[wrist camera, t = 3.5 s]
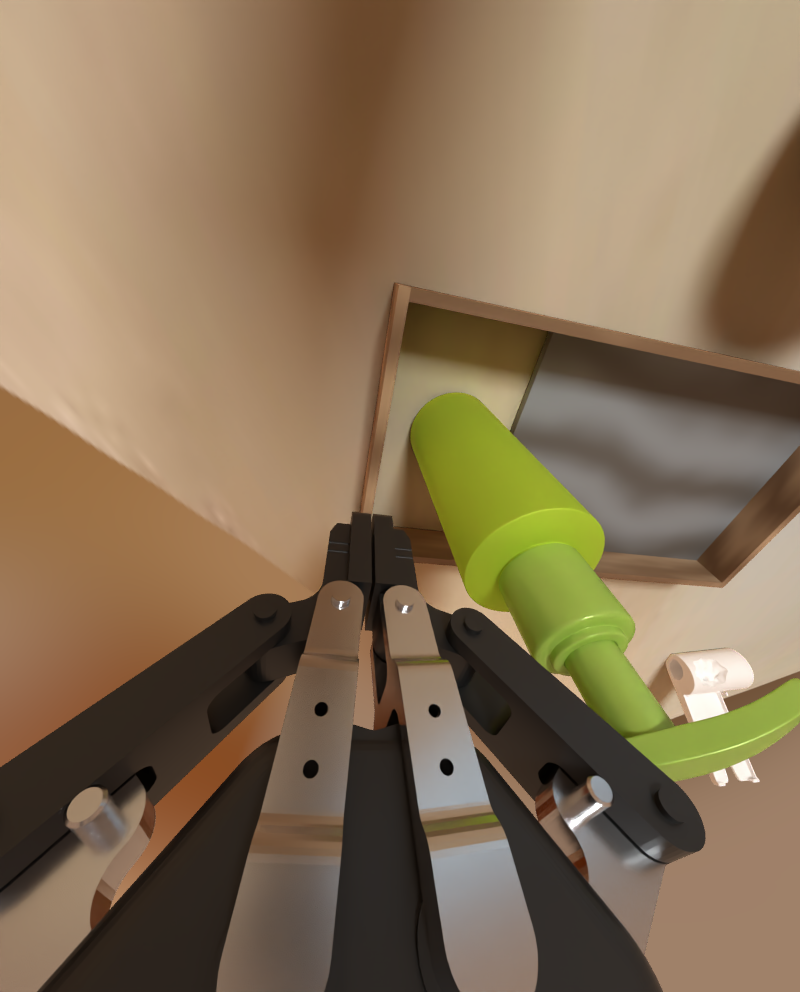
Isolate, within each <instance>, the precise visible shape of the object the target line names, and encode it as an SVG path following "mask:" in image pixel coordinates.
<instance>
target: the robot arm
mask: <svg viewBox="0 0 800 992" xmlns="http://www.w3.org/2000/svg"><path fill="white" fill-rule="evenodd" d="M411 550H412V548H411V542H410V538H409V537H408V536H407V534H406V533H405V531H404V530H398V529H393V521H392V516H387V515H379V514H373V517H372V521H371V514H369V513H360V512H352V517H351V523H350V524H341V523H337V524H336V525H335V526H334V528H333V529H332V530H331V531H330V538H329V545H328V552H327V558H326V565H325V572H324V579H323V584H322V586H321V588H320V590H319V591H318V592H317V593H316V594H314V595H313V596H311V597H310V598H308V599H305V600H301V601H297V602H292V603H289V602H288V601H287V600H286V599H285V598H283V597H282V596H279V595H276V594H261V595H258V596H255V597H253V598H251V599H250V600H248V601H247V602H245V603H243V604H242V605H240V606H239V607H237V608H236V609H234V610H233V611H232V612H230V613H229V614H227V615H226V616H224V617H223V618H222V619H220V620H218V621H217V622H215V623H214V624H212V625H211V626H209V627H208V628H206V629H205V630H203V631H202V632H201V633H199V634H198V635H196V636H194V637H193V638H191V639H190V640H189V641H187V642H186V643H184V644H183V645H181V646H180V647H178V648H177V649H175V650H174V651H172V652H171V653H169V654H168V655H166V656H165V657H163V658H162V659H160V660H159V661H157V662H156V663H154V664H153V665H151V666H150V667H149V668H147V669H145V670H144V671H143V672H141V673H140V674H138V675H137V676H135V677H134V678H132V679H131V680H129V681H128V682H126V683H125V684H123V685H122V686H120V687H119V688H117V689H116V690H115V691H113V692H111V693H110V694H108V695H107V696H105V697H104V698H102V699H101V700H100V701H98V702H97V703H95V704H94V705H92V706H91V707H89V708H88V709H86V710H85V711H83V712H82V713H80V714H79V715H78V716H76V717H74V718H73V719H72V720H70V721H68V722H67V723H66V724H64V725H63V726H61V727H59V728H58V729H57V730H55V731H54V732H52V733H51V734H49V735H48V736H46V737H45V738H43V739H42V740H40V741H39V742H37V743H36V744H34V745H33V746H31V747H30V748H28V749H27V750H25V751H24V752H22V753H21V754H19V755H18V756H17V757H15V758H13V759H12V760H11V761H9V762H8V763H6V764H5V765H3V766H2V767H0V992H663V991H662V988H661V986H660V984H659V982H658V980H657V978H656V975H655V974H654V972H653V970H652V968H651V966H650V965H649V963H648V961H647V959H646V957H645V956H644V954H645V950H646V945H647V941H648V937H649V933H650V928H651V924H652V920H653V916H654V911H655V907H656V903H657V898H658V894H659V890H660V886H661V881H662V877H663V873H664V869H665V866H666V865H667V864H669V863H671V862H673V861H676V860H678V859H680V858H683V857H685V856H688V855H690V854H693V853H695V852H697V851H699V850H701V849H702V848H703V846H704V844H705V830H704V826H703V823H702V820H701V817H700V815H699V813H698V811H697V809H696V808H695V806H694V804H693V803H692V801H691V800H690V799H689V797H688V796H687V795H686V793H684V791H683V790H682V789H681V788H680V787H679V786H678V785H677V784H676V783H675V782H674V781H673V780H672V779H670V778H669V777H668V776H667V775H666V774H665V773H664V772H662V771H661V770H660V769H659V768H658V767H657V766H656V765H655V764H653V763H652V762H651V761H650V760H649V759H648V758H647V757H645V756H644V755H643V754H642V753H641V752H640V751H639V750H637V749H636V748H635V747H634V746H633V745H632V744H631V743H629V742H628V741H627V740H626V739H625V738H624V737H623V736H621V735H620V734H619V733H618V732H617V731H616V730H615V729H614V728H612V727H611V726H610V725H609V724H608V723H607V722H606V721H604V720H603V719H602V718H601V717H600V716H599V715H598V714H596V713H595V712H594V711H593V710H592V709H591V708H590V707H588V706H587V705H586V704H585V703H584V702H583V701H582V700H581V699H579V698H578V697H577V696H576V695H575V694H574V693H573V692H571V691H570V690H569V689H568V688H567V687H566V686H565V685H563V684H562V683H561V682H560V681H559V680H558V679H557V678H555V677H554V676H553V675H552V674H551V673H550V672H549V671H547V670H546V669H545V668H544V667H543V666H542V665H541V664H540V663H538V662H537V661H536V660H535V659H534V658H533V657H532V656H530V655H529V654H528V653H527V652H526V651H525V650H524V649H522V648H521V647H520V646H519V645H518V644H517V643H516V642H514V641H513V640H512V639H511V638H510V637H509V636H508V635H506V634H505V633H504V632H503V631H502V630H501V629H500V628H499V627H497V626H496V625H495V624H494V623H493V622H492V621H491V620H489V619H488V618H487V617H486V616H485V615H484V614H482V613H481V612H479V611H477V610H474V609H471V608H461V609H458V610H456V611H455V612H454V613H453V614H449V613H446V612H443V611H440V610H438V609H435V608H433V607H432V606H430V605H429V604H427V603H426V601H425V599H424V597H423V596H422V594H421V593H420V592H419V591H418V587H417V580H416V574H415V567H414V561H413V555H412V551H411ZM364 617H365V630H369V631H372V632H373V641H372V645H371V650H370V657H371V670H372V681H373V682H372V683H373V695H374V709H375V715H374V729H373V730H369V729H366V728H363V727H359V726H356V725H353V717H354V707H355V697H356V687H357V686H356V685H357V677H358V666H359V659H358V651H359V640H360V631H361V630H362V626H363V621H364ZM292 674H296V677H295V680H294V684H293V688H292V692H291V696H290V700H289V704H288V708H287V712H286V716H285V719H284V723H283V727H282V731H281V735H279V736H276V737H274V738H272V739H271V740H269V741H267V742H265V743H264V744H262V745H261V746H260V747H258V748H257V749H256V750H254V751H253V752H252V753H251V754H250V755H249V756H247V757H246V758H245V759H244V760H243V761H242V762H241V763H240V764H239V765H238V767H237V768H236V769H235V770H234V771H233V772H232V773H231V774H230V775H229V777H228V778H227V779H226V780H225V781H224V782H223V783H222V784H221V786H220V787H219V788H218V789H217V790H216V791H215V792H214V793H213V795H212V796H211V797H210V798H209V799H208V800H207V801H206V803H204V805H203V806H202V807H201V808H200V809H199V810H198V811H197V813H196V814H195V815H194V816H193V817H192V818H191V819H190V821H188V823H187V824H186V825H185V826H184V827H183V828H182V829H181V830H180V832H179V833H178V834H177V835H176V836H175V837H174V839H172V841H171V842H170V843H169V844H168V845H167V846H166V847H165V848H164V850H163V851H162V852H161V853H160V854H159V855H158V856H157V857H156V859H155V860H154V861H153V862H152V863H151V864H150V865H149V866H148V868H147V869H146V870H145V871H144V872H143V873H142V874H141V875H140V876H139V878H138V879H137V880H136V881H135V882H134V883H133V884H132V885H131V887H130V888H129V889H128V890H127V891H126V892H125V893H124V894H123V896H122V897H121V898H120V899H119V900H118V901H117V902H116V903H115V904H114V906H113V907H112V908H111V909H110V907H111V903H112V900H113V898H114V896H115V893H116V891H117V889H118V887H119V885H120V883H121V882H122V880H123V878H124V877H125V876H126V874H127V872H128V871H129V870H130V869H131V867H132V866H133V865H134V864H135V862H136V861H137V860H138V859H139V857H140V856H141V855H142V853H143V852H144V850H145V849H146V847H147V845H148V843H149V841H150V839H151V836H152V833H153V830H154V826H155V819H156V815H155V808H154V806H155V805H156V804H157V803H158V802H159V801H160V800H161V799H162V798H163V797H164V796H165V795H166V794H167V793H168V792H169V791H170V790H171V789H172V788H173V787H174V786H175V785H176V784H177V783H179V782H180V780H182V778H183V777H185V776H186V775H187V774H188V773H189V772H190V771H191V770H192V769H193V768H194V767H195V766H196V765H197V764H198V763H199V762H200V761H201V760H202V759H203V758H204V757H205V756H206V755H207V754H208V753H210V751H212V750H213V749H214V748H215V747H216V746H217V745H218V744H219V743H220V742H221V741H222V740H223V739H224V738H225V737H226V736H227V735H228V734H229V733H230V732H231V731H232V730H233V729H234V728H235V727H236V726H237V725H238V724H239V723H241V722H242V721H243V720H244V719H245V718H246V717H247V716H248V715H249V714H250V713H251V712H252V711H253V710H254V709H255V708H256V707H257V706H258V705H259V704H260V703H261V702H262V701H263V700H264V699H265V698H266V697H267V696H268V695H269V694H270V693H272V692H273V691H274V690H275V689H276V688H277V687H278V686H279V685H280V684H281V683H282V682H283V680H284V679H285V678H286V676H289V675H292ZM468 726H469V727H470V728H471V729H472V730H473V731H474V732H475V734H476V735H477V736H478V737H479V738H480V739H481V740H482V742H483V743H484V744H485V745H486V746H487V747H488V748H489V749H490V751H491V752H492V753H493V754H494V755H495V756H496V757H497V759H499V761H500V762H501V763H502V764H503V765H504V767H505V768H506V769H507V770H508V771H509V772H510V774H511V775H512V776H513V777H514V778H515V779H516V780H517V781H518V783H519V784H520V785H521V786H522V787H523V788H524V789H525V791H526V792H527V793H528V794H529V795H530V796H531V797H532V799H533V800H534V801H535V808H536V814H537V818H538V820H537V819H536V818H535V817H534V816H533V814H532V813H531V812H530V811H529V810H528V808H527V807H526V806H525V805H524V803H523V802H522V801H521V800H520V799H519V797H518V796H517V795H516V794H515V792H514V791H513V790H512V789H511V788H510V786H509V785H508V784H507V783H506V782H505V780H504V779H503V778H502V776H501V775H500V774H499V773H498V772H497V771H496V769H495V768H494V767H493V766H492V764H491V763H490V762H489V761H488V760H487V759H486V757H485V756H484V755H483V754H482V753H481V752H480V751H479V750H478V749H476V748H475V747H474V745H473V741H472V738H471V734H470V730H469V727H468Z"/></svg>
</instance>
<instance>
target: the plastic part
mask: <svg viewBox="0 0 800 992" xmlns="http://www.w3.org/2000/svg"><path fill="white" fill-rule="evenodd" d="M666 668H667V671H668V674H669V676H670V679H671V681H672V683H673V686H674V688H675V691H676V693H677V696H678V698H679V701H680V703H681V706H682V708H683V711H684V713H685V715H686V718H687V720H688V723H691V722H695V721H699V720H703V719H707V718H711V717H714V716H718V715H721V714H724V713H727V712H728V710H727V707H726V705H725V703H724V700H723V698H722V695H725V696H728V693H727V692H725V693H726V694H724V693H723V691H727V690H736V689H745V688H748V687H750V686H751V685H752V683H753V681H754V674H753V671H752V668H751V666H750V665H749V663H748V662H747V660H746V659H745V658H744V657H743V656H742V655H741V654H739V653H738V652H737V651H735V650H733V649H730V648H722V649H713V650H704V651H695V652H686V653H677V654H671V655H670V656H669V658H668V659H667V661H666ZM730 767H731V769H732V771H733V773H734V775H735V776H736V778H737V779H738V780H740V781H746V780H749V781H751V782H760V781H759V779H758V778H757V777H756V775H755V773H754V770H753V768H752V766H751V763H750V761H749V759H746V760H744V761H742V762H740V763H738V764H735V765H733V766H730ZM709 775H710V778H711V780H712V783H713V784H715V785H717V786H725V783H727V782H728V777H727V774H726V771H725V769H722V770H719V771H716V772H713V773H709Z"/></svg>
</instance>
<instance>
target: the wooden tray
mask: <svg viewBox="0 0 800 992" xmlns="http://www.w3.org/2000/svg"><path fill="white" fill-rule="evenodd" d="M409 302H413V303H418V304H423V305H427V306H432V307H437V308H441V309H446V310H451V311H456V312H460V313H465V314H470V315H475V316H479V317H484V318H489V319H494V320H498V321H503V322H508V323H512V324H517V325H522V326H527V327H531V328H536V329H541V330H546V331H549V333H548V335H547V338H546V340H545V343H544V346H543V348H542V351H541V353H540V356H539V359H538V361H537V364H536V366H535V369H534V372H533V374H532V377H531V379H530V382H529V385H528V387H527V390H526V392H525V395H524V398H523V400H522V403H521V405H520V408H519V410H518V413H517V416H516V418H515V421H514V423H513V426H512V429H511V431H510V432H511V433H512V434H513V435H514V436H515V437H516V438H517V439H518V440H519V441H520V442H521V443H522V444H523V445H524V446H525V447H526V448H527V449H528V450H529V452H530V453H531V454H532V455H533V456H534V457H535V458H536V459H537V460H538V461H539V462H540V463H541V464H542V465H543V466H544V467H545V468H546V469H547V470H548V471H549V472H550V473H551V474H552V475H553V476H554V477H555V478H556V479H557V480H558V481H559V482H560V483H561V484H562V485H563V486H564V487H565V488H566V489H567V490H568V491H569V492H570V493H571V494H572V495H573V496H574V497H575V498H576V500H577V501H578V502H579V503H580V504H581V505H582V506H583V507H584V508H585V509H586V510H587V511H588V512H589V513H590V514H591V515H592V516H593V517H594V518H595V519H596V520H597V521H598V522H599V524H600V525H601V527H602V529H603V532H604V537H605V545H604V550H603V554H602V556H601V559H600V561H599V562H598V564H597V566H596V567H595V569H594V572H595V573H596V574H597V575H598V577H599V578H610V579H622V580H634V581H646V582H658V583H671V584H683V585H695V586H707V587H719V588H723V587H724V586H725V585H726V584H727V583H728V582H729V581H730V580H731V579H732V578H733V577H734V576H735V575H736V574H737V573H738V572H739V571H740V570H741V569H742V568H743V567H744V566H745V565H746V564H747V563H748V562H749V561H750V560H751V559H753V558H754V557H755V556H756V555H757V554H758V553H759V552H760V551H761V550H762V549H763V548H764V547H765V546H766V545H767V544H768V543H769V542H770V541H771V540H772V539H773V538H774V537H775V536H776V535H777V534H778V533H779V532H780V531H781V530H782V529H783V528H784V527H785V526H786V525H787V524H788V523H789V522H790V521H791V520H792V519H793V518H794V517H795V516H796V515H797V514H798V513H799V512H800V371H796V370H791V369H786V368H782V367H777V366H773V365H768V364H764V363H759V362H754V361H750V360H745V359H741V358H736V357H732V356H727V355H723V354H718V353H713V352H709V351H704V350H700V349H695V348H691V347H686V346H682V345H677V344H672V343H668V342H663V341H659V340H654V339H650V338H645V337H640V336H636V335H631V334H627V333H622V332H618V331H613V330H609V329H604V328H599V327H595V326H590V325H586V324H581V323H577V322H572V321H567V320H563V319H558V318H554V317H549V316H545V315H540V314H536V313H531V312H526V311H522V310H517V309H513V308H508V307H504V306H499V305H494V304H490V303H485V302H481V301H476V300H472V299H467V298H463V297H458V296H453V295H449V294H444V293H440V292H435V291H431V290H426V289H421V288H417V287H412V286H408V285H403V284H399V283H394V289H393V296H392V302H391V309H390V316H389V322H388V329H387V335H386V342H385V349H384V355H383V362H382V369H381V375H380V382H379V388H378V395H377V402H376V408H375V415H374V421H373V428H372V435H371V441H370V448H369V455H368V461H367V468H366V474H365V481H364V488H363V494H362V501H361V508H360V513H369V514H371V515H372V509H373V503H374V497H375V492H376V486H377V480H378V475H379V469H380V463H381V457H382V452H383V446H384V440H385V434H386V429H387V423H388V417H389V412H390V406H391V400H392V394H393V389H394V383H395V377H396V372H397V366H398V360H399V354H400V349H401V343H402V337H403V332H404V326H405V320H406V314H407V309H408V303H409ZM393 529H398V530H404V531H405V533H406V534H407V536H408V537H409V538H410V542H411V548H412V550H411V551H412V555H413V561H414V562H415V563H427V564H439V565H452V566H457V565H456V562H455V559H454V557H453V554H452V552H451V549H450V546H449V544H448V541H447V538H446V536H445V533H444V532H443V531H433V530H423V529H413V528H402V527H393Z"/></svg>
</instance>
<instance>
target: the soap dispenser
mask: <svg viewBox="0 0 800 992" xmlns="http://www.w3.org/2000/svg"><path fill="white" fill-rule="evenodd" d="M410 439H411V445H412V448H413V451H414V454H415V456H416V459H417V462H418V464H419V467H420V469H421V472H422V475H423V477H424V480H425V483H426V485H427V488H428V491H429V493H430V496H431V499H432V501H433V504H434V507H435V509H436V512H437V514H438V517H439V520H440V522H441V525H442V528H443V530H444V533H445V536H446V538H447V541H448V544H449V546H450V549H451V552H452V554H453V557H454V559H455V562H456V565H457V567H458V570H459V573H460V575H461V578H462V581H463V583H464V586H465V588H466V591H467V593H468V594H469V596H470V597H471V598H472V599H473V600H474V601H475V602H476V603H477V604H479V605H481V606H483V607H485V608H488V609H491V610H495V611H502V612H510V613H511V615H512V617H513V619H514V621H515V623H516V626H517V628H518V630H519V632H520V634H521V636H522V638H523V640H524V642H525V644H526V646H527V649H528V651H529V653H530V655H531V656H532V657H533V658H534V659H535V660H536V661H537V662H538V663H540V664H541V665H542V666H543V667H544V668H545V669H546V670H547V671H549V672H550V673H554V674H561V675H565V676H571V677H572V679H573V681H574V683H575V684H576V686H577V688H578V690H579V692H580V693H581V695H582V697H583V699H584V701H585V702H586V704H587V706H588V707H590V708H591V709H592V710H593V711H594V712H595V713H596V714H598V715H599V716H600V717H601V718H602V719H603V720H604V721H606V722H607V723H608V724H609V725H610V726H611V727H612V728H614V729H615V730H616V731H617V732H618V733H619V734H620V735H621V736H623V737H624V738H625V739H626V740H627V741H628V742H629V743H631V744H632V745H633V746H634V747H635V748H636V749H637V750H639V751H640V752H641V753H642V754H643V755H644V756H645V757H647V758H648V759H649V760H650V761H651V762H652V763H653V764H655V765H656V766H657V767H658V768H659V769H660V770H661V771H662V772H664V773H665V774H666V775H667V776H668V777H669V778H670V779H672V780H673V781H674V782H675V781H680V780H684V779H689V778H693V777H698V776H701V775H706V774H709V773H713V772H716V771H719V770H722V769H725V768H727V767H730V766H733V765H735V764H738V763H740V762H742V761H744V760H746V759H748V758H750V757H752V756H754V755H756V754H758V753H760V752H761V751H763V750H765V749H766V748H768V747H769V746H771V745H772V744H774V743H775V742H777V741H778V740H779V739H781V738H782V737H783V736H785V735H786V734H787V733H788V732H790V731H791V730H792V729H793V728H794V727H795V726H796V725H797V724H798V723H799V722H800V679H797V678H794V679H791V680H789V681H787V682H786V683H784V684H783V685H781V686H780V687H778V688H777V689H775V690H774V691H772V692H770V693H769V694H767V695H765V696H764V697H762V698H760V699H758V700H756V701H754V702H752V703H750V704H748V705H746V706H743V707H741V708H738V709H736V710H733V711H731V712H727V713H724V714H721V715H718V716H714V717H711V718H707V719H703V720H699V721H695V722H691V723H687V724H683V725H678V726H675V725H674V724H673V722H672V721H671V720H670V718H669V717H668V715H667V714H666V713H665V711H664V710H663V708H662V707H661V706H660V704H659V703H658V701H657V700H656V699H655V697H654V696H653V694H652V693H651V692H650V690H649V689H648V687H647V686H646V685H645V683H644V682H643V680H642V679H641V678H640V676H639V675H638V673H637V672H636V671H635V669H634V668H633V666H632V665H631V664H630V662H629V661H628V659H627V658H626V657H625V655H624V654H623V653H624V652H625V650H626V649H627V646H628V643H629V642H630V641H631V639H632V638H633V636H634V633H635V623H634V621H633V619H632V618H631V616H630V615H629V614H628V612H627V611H626V610H625V609H624V607H623V606H622V605H621V604H620V602H619V601H618V600H617V599H616V598H615V596H614V595H613V594H612V593H611V591H610V590H609V589H608V588H607V586H606V585H605V584H604V583H603V581H602V580H601V579H600V578H599V577H598V575H597V574H596V573H595V572H594V569H595V567H596V566H597V564H598V562H599V561H600V559H601V556H602V554H603V550H604V545H605V537H604V532H603V529H602V527H601V525H600V524H599V522H598V521H597V520H596V519H595V518H594V517H593V516H592V515H591V514H590V513H589V512H588V511H587V510H586V509H585V508H584V507H583V506H582V505H581V504H580V503H579V502H578V501H577V500H576V498H575V497H574V496H573V495H572V494H571V493H570V492H569V491H568V490H567V489H566V488H565V487H564V486H563V485H562V484H561V483H560V482H559V481H558V480H557V479H556V478H555V477H554V476H553V475H552V474H551V473H550V472H549V471H548V470H547V469H546V468H545V467H544V466H543V465H542V464H541V463H540V462H539V461H538V460H537V459H536V458H535V457H534V456H533V455H532V454H531V453H530V452H529V450H528V449H527V448H526V447H525V446H524V445H523V444H522V443H521V442H520V441H519V440H518V439H517V438H516V437H515V436H514V435H513V434H512V433H511V432H510V431H509V430H508V429H507V428H506V427H505V426H504V425H503V424H502V423H501V422H500V421H499V420H498V419H497V418H496V417H495V416H494V415H493V414H492V413H491V412H490V411H489V410H488V409H487V408H486V407H485V406H484V405H483V404H482V403H481V402H480V401H479V400H478V399H477V398H475V397H473V396H471V395H468V394H465V393H448V394H444V395H441V396H438V397H436V398H434V399H433V400H431V401H430V402H428V403H427V404H426V405H425V406H424V407H423V408H422V409H421V410H420V411H419V412H418V414H417V416H416V417H415V419H414V421H413V424H412V427H411V433H410Z"/></svg>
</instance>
